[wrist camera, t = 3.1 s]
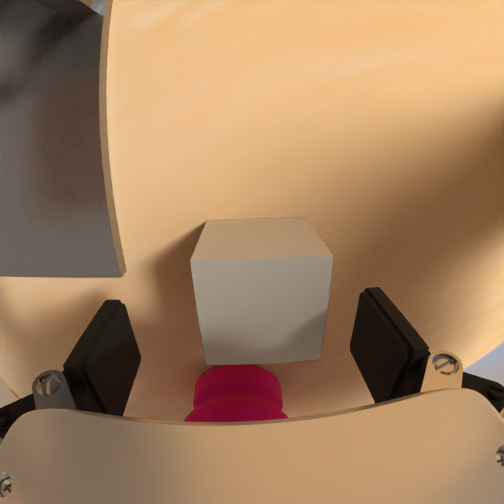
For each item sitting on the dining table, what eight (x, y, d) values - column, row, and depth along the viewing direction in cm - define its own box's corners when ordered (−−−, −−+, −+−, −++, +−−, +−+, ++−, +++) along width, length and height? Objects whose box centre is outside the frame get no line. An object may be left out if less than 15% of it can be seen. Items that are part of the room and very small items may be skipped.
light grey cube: (305, 216, 14) (333, 255, 10) (301, 300, 16) (319, 359, 12) (207, 219, 14) (190, 260, 10) (215, 303, 16) (206, 364, 12)
